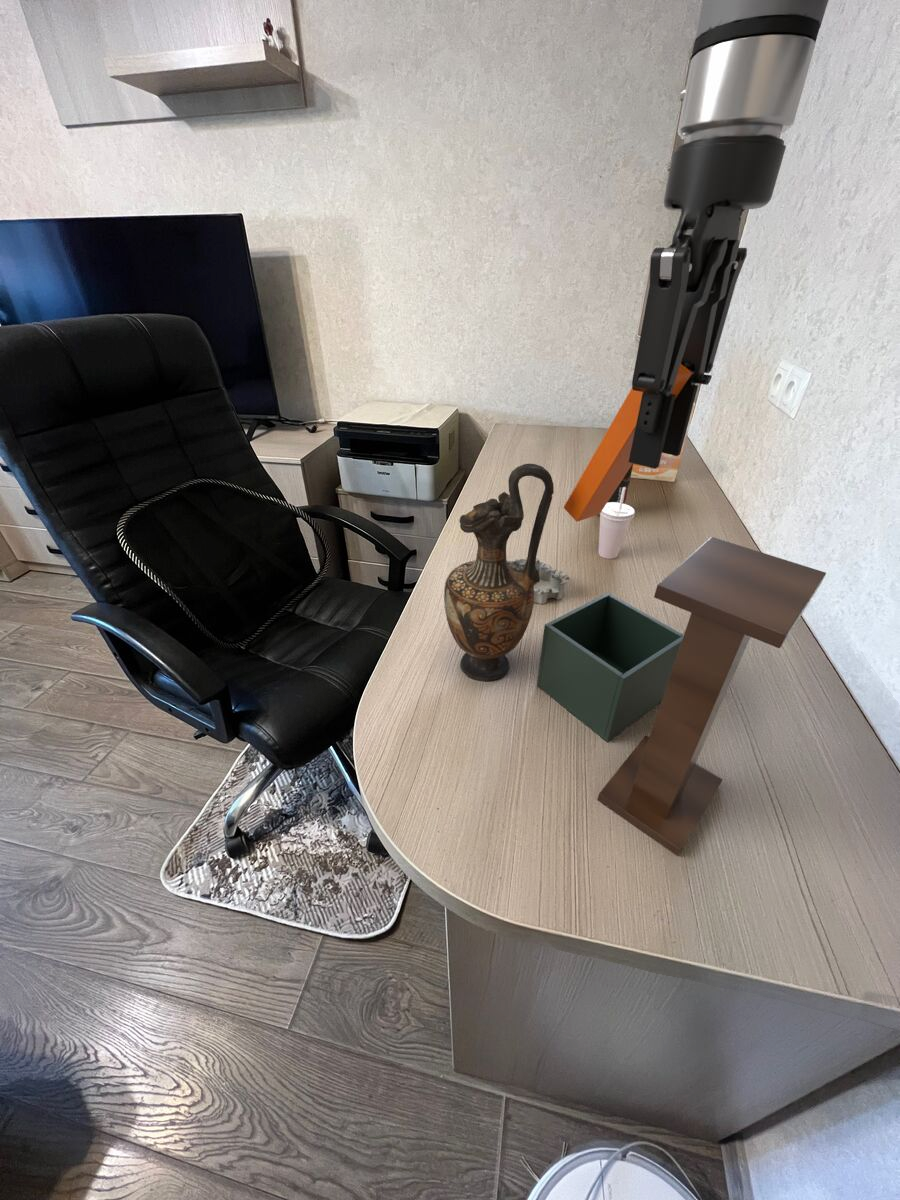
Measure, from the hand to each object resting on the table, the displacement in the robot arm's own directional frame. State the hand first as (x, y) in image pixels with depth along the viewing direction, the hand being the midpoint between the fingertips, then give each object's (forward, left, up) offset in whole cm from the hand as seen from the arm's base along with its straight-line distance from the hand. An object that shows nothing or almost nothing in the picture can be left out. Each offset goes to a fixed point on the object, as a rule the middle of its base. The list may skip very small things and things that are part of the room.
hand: (654, 457), depth 49 cm
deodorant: (+36, -46, -32) cm, 67 cm away
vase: (+13, +9, -32) cm, 36 cm away
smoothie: (+24, -31, -32) cm, 51 cm away
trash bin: (0, 0, -32) cm, 32 cm away
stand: (-14, +7, -32) cm, 36 cm away
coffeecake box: (+46, -73, -33) cm, 92 cm away
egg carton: (+24, -11, -32) cm, 42 cm away
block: (+5, 0, 0) cm, 5 cm away
